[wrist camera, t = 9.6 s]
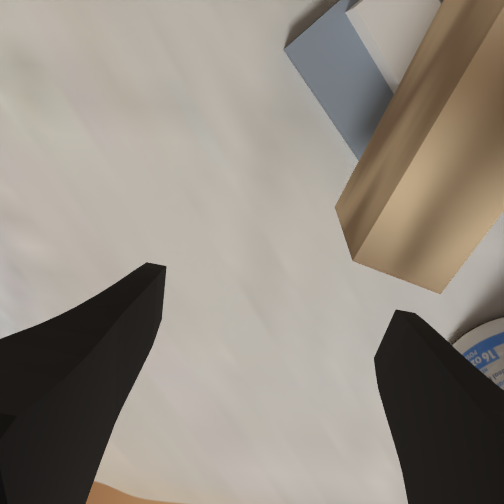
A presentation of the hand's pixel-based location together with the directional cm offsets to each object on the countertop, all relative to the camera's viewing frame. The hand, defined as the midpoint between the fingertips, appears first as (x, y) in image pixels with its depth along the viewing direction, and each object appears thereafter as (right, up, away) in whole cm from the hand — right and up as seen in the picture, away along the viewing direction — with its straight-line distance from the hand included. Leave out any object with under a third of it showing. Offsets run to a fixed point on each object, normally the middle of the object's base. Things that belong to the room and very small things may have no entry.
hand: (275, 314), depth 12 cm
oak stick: (+7, +8, +3) cm, 11 cm away
